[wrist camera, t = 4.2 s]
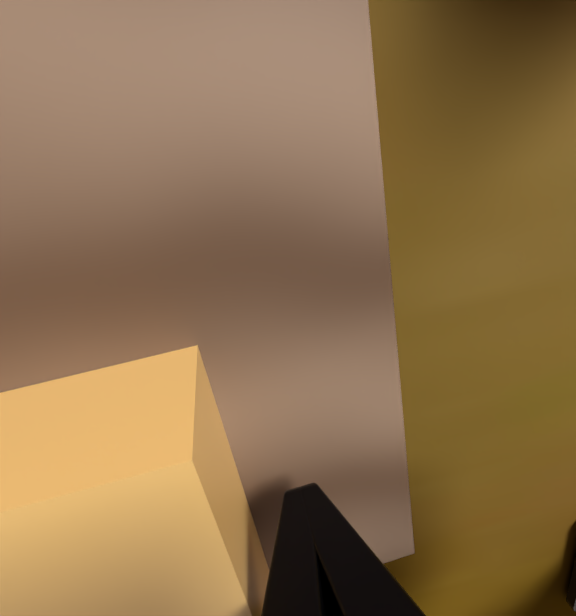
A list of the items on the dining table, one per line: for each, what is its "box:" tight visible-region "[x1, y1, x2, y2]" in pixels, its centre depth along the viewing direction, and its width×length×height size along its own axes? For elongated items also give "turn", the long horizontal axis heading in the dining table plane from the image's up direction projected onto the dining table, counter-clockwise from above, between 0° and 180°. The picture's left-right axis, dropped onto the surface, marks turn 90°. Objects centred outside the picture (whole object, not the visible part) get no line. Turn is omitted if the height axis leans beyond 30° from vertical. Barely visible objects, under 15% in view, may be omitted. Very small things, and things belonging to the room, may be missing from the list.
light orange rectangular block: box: [0, 345, 269, 616], centre depth 8 cm, size 8×6×3 cm
